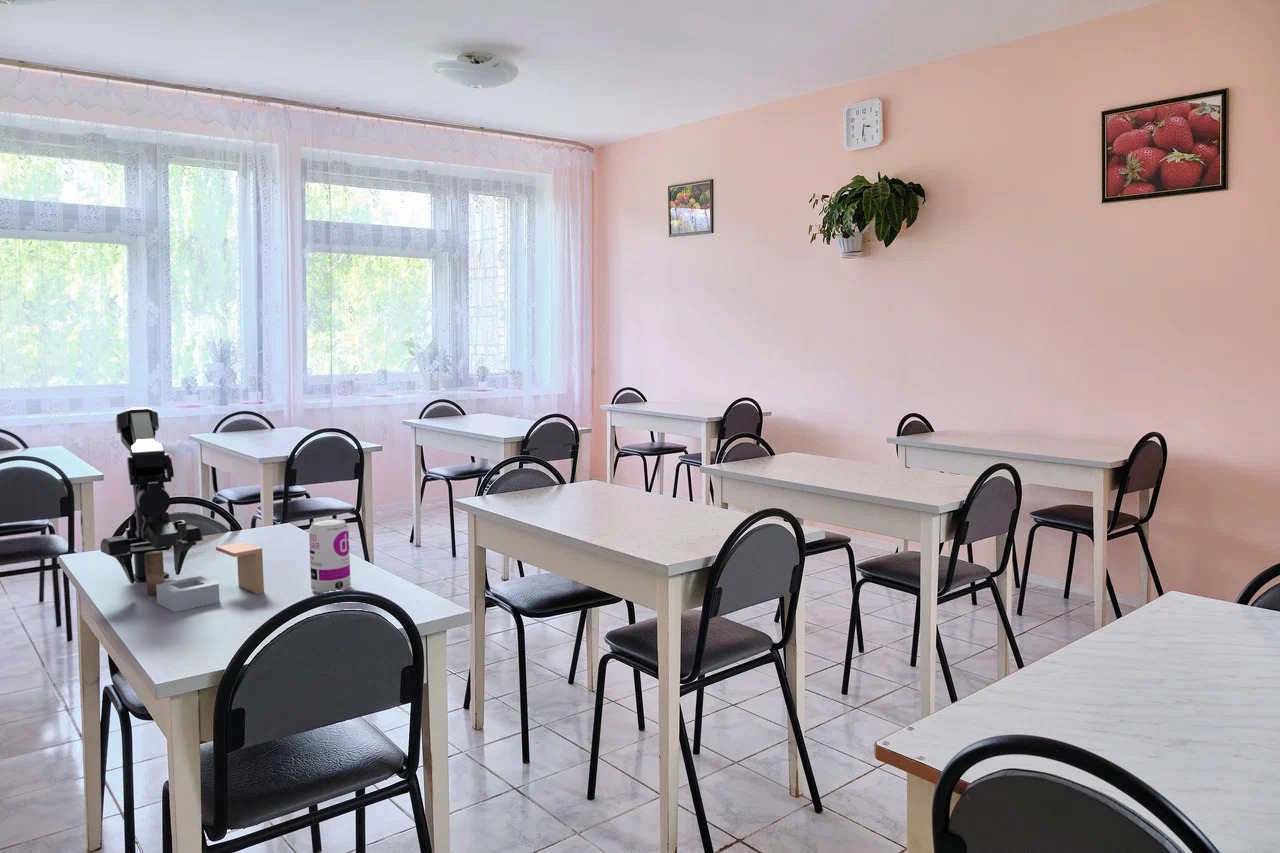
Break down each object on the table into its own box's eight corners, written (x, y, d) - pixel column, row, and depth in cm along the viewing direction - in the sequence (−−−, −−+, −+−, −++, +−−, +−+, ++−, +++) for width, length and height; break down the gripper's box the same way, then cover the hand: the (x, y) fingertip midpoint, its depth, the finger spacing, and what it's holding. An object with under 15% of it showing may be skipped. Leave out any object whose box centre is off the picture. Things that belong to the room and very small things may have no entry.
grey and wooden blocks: (157, 603, 189) (154, 557, 188) (245, 584, 202) (243, 541, 201) (174, 612, 183) (171, 564, 182) (264, 592, 196) (262, 548, 195)
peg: (144, 593, 196) (142, 553, 195) (161, 590, 198) (159, 550, 197) (150, 597, 193) (148, 555, 192) (167, 593, 196) (165, 552, 195)
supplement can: (358, 586, 202) (356, 519, 200) (334, 596, 194) (331, 527, 192) (327, 582, 204) (325, 517, 203) (303, 592, 196) (300, 524, 195)
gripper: (116, 519, 181) (121, 595, 183) (211, 506, 195) (215, 577, 197) (97, 512, 189) (102, 585, 191) (190, 499, 203) (194, 567, 204)
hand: (155, 578), depth 195 cm, fingers open, 9 cm apart
